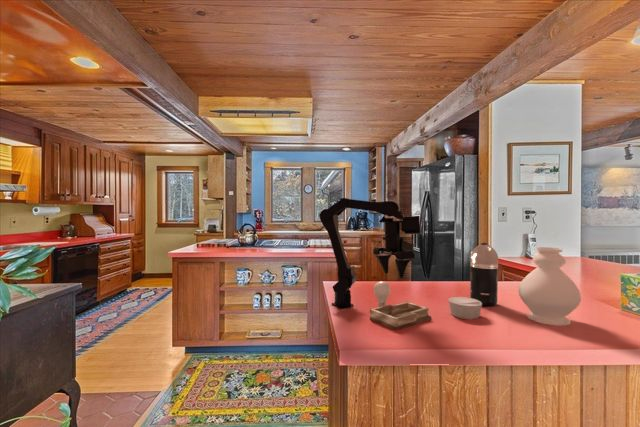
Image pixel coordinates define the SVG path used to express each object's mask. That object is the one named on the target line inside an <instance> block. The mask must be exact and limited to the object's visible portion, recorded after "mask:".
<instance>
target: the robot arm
mask: <svg viewBox="0 0 640 427" xmlns="http://www.w3.org/2000/svg"><path fill="white" fill-rule="evenodd" d="M347 209H353V210H361V211H362V210H363V211H369V212H375V213H378V214H380V215H383V216H382V217H381V218H380V219H379V220H378V222H379V223H384V236H382V240H383V241H384V246H375V247H374V248H373V249H372V252H373V255H375V258H376V260H377V261H378V262H379V264H380V266H381V268H382V270H383V272H384V274H385V275H387V274H388V273H389V265H390V264H389V261H390V258H391V257H392V256H394V257H395V259H394V262H395V265H396V268H397V272H398V276H399V278H400V279H402V278H403V277H404V274H405V271H406V268H407V266H408V263H410V262H411V261H413V260H415V259H416V253H415V251H414V250H413V249H414V246H415V245H414V244H413V243H410V242H408V241H405V240H404V237H403V236H401V232H403V233H404V235H421V233H422V232H421V231H422V230H421V227H422V226H421V219H420V217H421V216H420V215H414V216H411V215H410V216H405V214H404V213H403V212H402V211H401V207H400V204H399V203H398V202H396V201H393V200H386V201H369V200H359V199H351V198H347V197H342V198H340V199H339V200H338V201H337V202H335V203H334V204H332V205H331V206H329V207H327V208H325V209H322V210H321V211H320V213H319V221H320V222H321V224H322V226H323V227H324V229H325V230H326V232H327V234H328V238H329V241H330V244H331V248H332V250H333V254H334V258H335V261H336V265H337V282H336V283H335V284H334V285H333V286H332V290H333V292H334V302H331V305H333V306H335V307H336V308H340V309H345V308H349V307H354V303H352V295H351V290H350V289H351V288H352V286H354V284H355V283H356V281H357V276H358V274H357V272H356V269H355V265H352V266H351V264H350V263H349V261H348V258H347V257H348V256H347V255H346V254H347V253H346V250H345V247H344V243H343V241H342V238H341V234H340V231H339V230H340V229H339V216H341V215H342V213H344V211H345V210H347ZM386 216H387V217H386ZM395 218H396V219H398V220H395Z"/></svg>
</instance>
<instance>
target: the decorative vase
mask: <svg viewBox="0 0 640 427" xmlns="http://www.w3.org/2000/svg"><path fill="white" fill-rule="evenodd" d="M535 251H537V252H538V253H537V252H536V254H534V255H533V257H532V261H533V263H534V264H535V265H536V266H537V267H536V268H534V269H533V270H532V271H530V272H529V273H527V275H525V277H524V278H523V279H522V280H521V282H520V284H519V286H518V295H519V297H520V299H521V300H522V302H523V303H524V305H525V306H526V307H527V309H528V310H529V312H528V313H527V314H526V318H527V319H529V320H531V321H533V322H537V323H540V324H542V325H543V324H544V325H548V326H557V327H565V326H570V325H571V322H572V321H571V320H570V319H569V318H567V317H568V316H569V315H570V314H571V313H572V312H573V311H575V309H577V308H578V307H579V306H580V303H581V302H582V296H581V291H580V289H579V288H578V286H577V285H576V284H575V282H574V280H572V279H571V278H570V276H568V274H566V273H565V272H564V271H563V270H562V269H561V267H563V266H565V265H566V262H567V261H566V258H565V257H564V256H562V254H560V253H562V252H563V248H559V247H550V246H549V247H548V246H547V247H545V246H538V247H537V246H536V247H535Z"/></svg>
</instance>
